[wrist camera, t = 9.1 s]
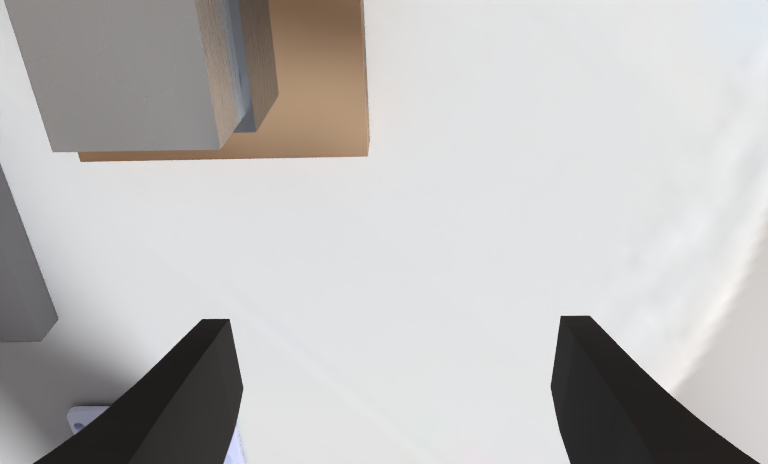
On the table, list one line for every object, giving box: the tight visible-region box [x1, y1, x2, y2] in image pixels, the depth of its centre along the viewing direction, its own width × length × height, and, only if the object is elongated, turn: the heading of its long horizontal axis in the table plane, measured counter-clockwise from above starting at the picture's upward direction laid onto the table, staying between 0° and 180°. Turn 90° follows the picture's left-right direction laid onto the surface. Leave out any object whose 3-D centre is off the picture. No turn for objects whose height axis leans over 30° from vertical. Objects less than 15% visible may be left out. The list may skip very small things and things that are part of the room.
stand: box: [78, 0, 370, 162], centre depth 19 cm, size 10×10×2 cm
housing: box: [4, 0, 279, 152], centre depth 15 cm, size 6×4×6 cm
